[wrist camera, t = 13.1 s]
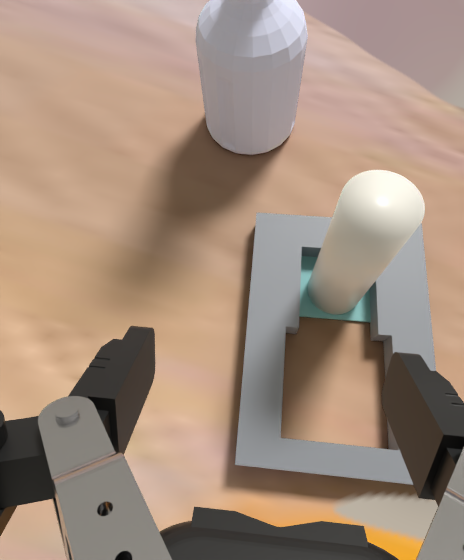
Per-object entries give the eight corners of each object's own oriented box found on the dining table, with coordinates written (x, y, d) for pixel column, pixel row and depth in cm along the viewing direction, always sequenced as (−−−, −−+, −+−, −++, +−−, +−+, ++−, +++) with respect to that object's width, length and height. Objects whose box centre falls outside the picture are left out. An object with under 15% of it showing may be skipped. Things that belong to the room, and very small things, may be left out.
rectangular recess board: (433, 484, 27) (447, 488, 25) (235, 462, 28) (234, 464, 26) (412, 234, 34) (421, 223, 33) (256, 224, 35) (256, 212, 34)
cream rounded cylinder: (334, 325, 31) (385, 256, 19) (296, 287, 33) (322, 200, 21) (371, 292, 32) (442, 206, 20) (333, 256, 34) (378, 156, 22)
